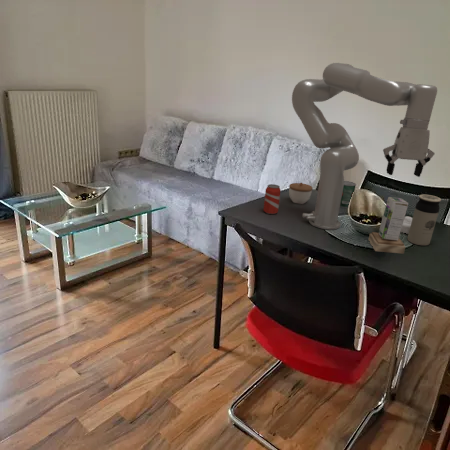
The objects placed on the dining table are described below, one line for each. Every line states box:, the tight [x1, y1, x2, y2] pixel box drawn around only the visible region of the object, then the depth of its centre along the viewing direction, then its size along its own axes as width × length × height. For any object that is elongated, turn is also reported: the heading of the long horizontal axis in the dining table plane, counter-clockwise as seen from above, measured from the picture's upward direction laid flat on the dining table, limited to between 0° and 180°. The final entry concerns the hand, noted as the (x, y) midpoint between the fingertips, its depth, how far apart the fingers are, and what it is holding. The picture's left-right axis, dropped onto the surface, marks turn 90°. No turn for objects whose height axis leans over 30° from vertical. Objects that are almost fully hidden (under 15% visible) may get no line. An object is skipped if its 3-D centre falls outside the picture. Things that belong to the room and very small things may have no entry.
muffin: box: [400, 215, 413, 235], centre depth 161 cm, size 6×6×7 cm
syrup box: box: [378, 196, 409, 241], centre depth 143 cm, size 6×6×14 cm
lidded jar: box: [288, 182, 313, 205], centre depth 189 cm, size 11×11×9 cm
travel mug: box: [406, 194, 442, 246], centre depth 150 cm, size 8×8×18 cm
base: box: [368, 231, 406, 255], centre depth 147 cm, size 10×10×4 cm
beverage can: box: [263, 183, 282, 215], centre depth 171 cm, size 6×6×12 cm
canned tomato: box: [340, 180, 357, 209], centre depth 188 cm, size 8×8×11 cm
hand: (403, 174), depth 137 cm, fingers open, 9 cm apart
